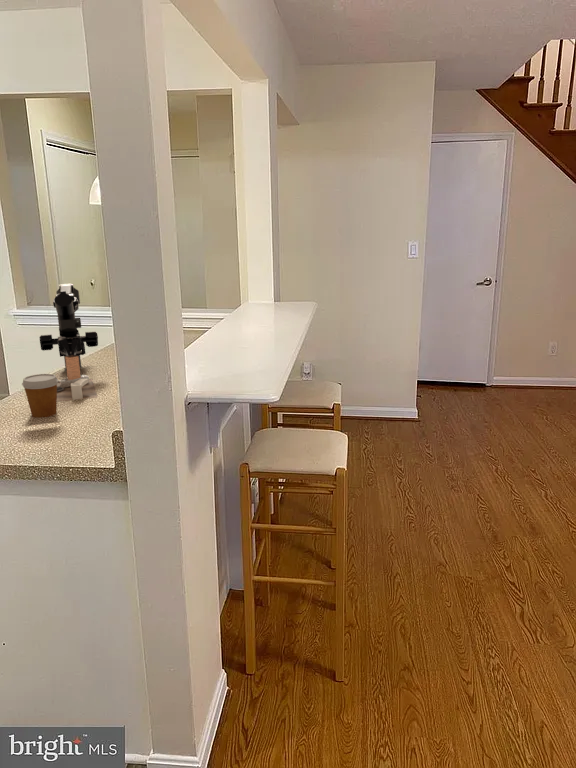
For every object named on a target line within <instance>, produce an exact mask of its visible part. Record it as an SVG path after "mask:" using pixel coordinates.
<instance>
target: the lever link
mask: <svg viewBox="0 0 576 768" xmlns="http://www.w3.org/2000/svg"><path fill="white" fill-rule="evenodd" d="M65 359H66V368H67V371H66V375H67V378H63V379H58V383H57V390H59V389H61V388H65V387H69V386H71V383H75V382H76V381H78V380H79V379H88V382H89V379H90V377H89V375H86V374H81V368H80V366H79V357H78V356H76V355H70V356H65Z"/></svg>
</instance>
